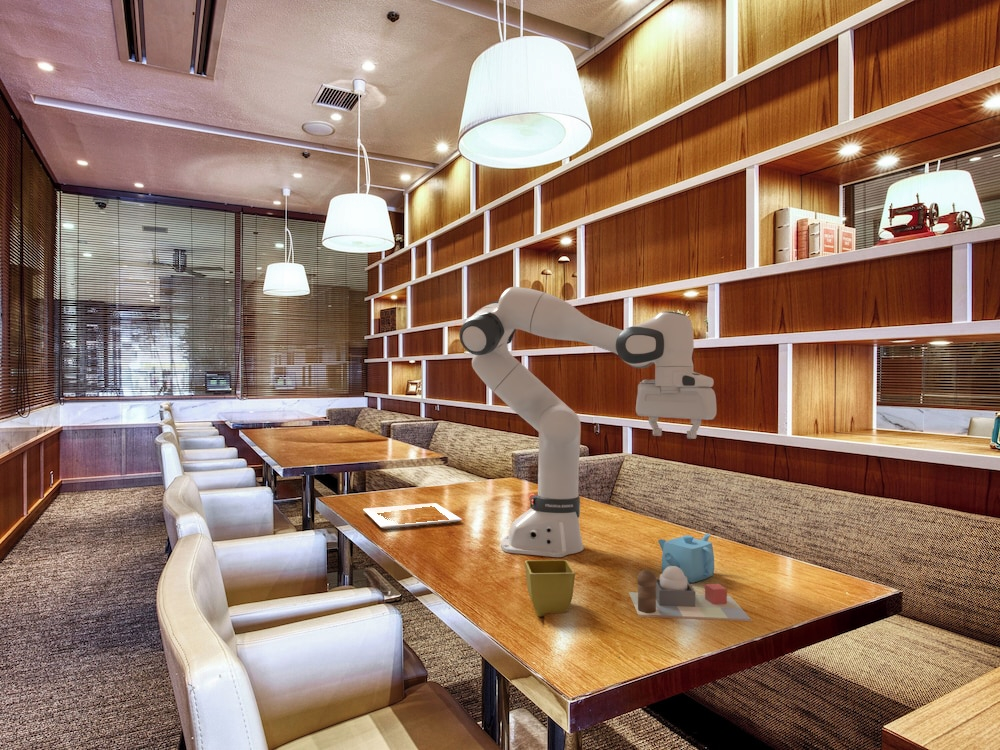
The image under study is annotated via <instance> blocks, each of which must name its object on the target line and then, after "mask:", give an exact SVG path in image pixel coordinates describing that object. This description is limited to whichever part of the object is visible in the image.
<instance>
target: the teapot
mask: <svg viewBox="0 0 1000 750" xmlns="http://www.w3.org/2000/svg"><path fill="white" fill-rule="evenodd" d="M710 537H711V533H706V534H704V535H703V536H702V539H699V538H698V539H697V538H694V536H693V535H689V534H687V535H686V534H685V535H683V536H680V537H676V538H672V539H669V540H666V539H665V538H663V539H657V541H658V544H659V546H660V549H661V551H662V554H661V555H662V556H661V571H662V572H661V574H663V571H664V570H665V569H666V568H667V567H669V566H676V567H679V568H680V569H681V570H682V571H683V573H684V576H686V577H687V581H688V582H689V584H693V583H697V582H701V581H704V580H706V579H708V578H710V577H713V575H714V573H715V554H714V547H713V543H712V542H710V541H709V539H710Z"/></svg>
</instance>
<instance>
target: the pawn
mask: <svg viewBox="0 0 1000 750" xmlns="http://www.w3.org/2000/svg"><path fill="white" fill-rule="evenodd" d="M657 579H658V578H657V576H656V573H655V572H653V571H652V570H650V569H642V570H641V571H639V572H638V574H637V577H636V582H637V592H638V610H639V611H641V612H644V613H654V612H656V584H657Z"/></svg>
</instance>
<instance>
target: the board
mask: <svg viewBox="0 0 1000 750" xmlns="http://www.w3.org/2000/svg"><path fill="white" fill-rule="evenodd" d="M628 595H629V596H630V599H631V601H632V604H633V605H634V608H635V611H636V613H637V616H638V617H639V618H656V619H657V618H659V619H660V618H662V619H663V618H664V619H683V620H684V619H685V620H687V619H688V620H708V621H727V622H729V621H732V622H754V621H753V619H752V618H751V617H749V615H748V614H747V613H746V612H745V611H744V609H743V608H742V606H740V605H739V604H738V603H737V602H736V600H735V599H734V598H733V597H732V596H731V595H727V604H714V605H713V604H712V603H710V602H709V601H707V600H706V599H705V594H697V593H696V590H695V589H694V588H693V586H692V585H691V583H690V582H688V581H687V591H686V590H662V589H661V588H660V578H657V584H656V612H654V613H644V612H641V611H639V610H638V591H628Z"/></svg>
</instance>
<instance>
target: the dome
mask: <svg viewBox="0 0 1000 750" xmlns="http://www.w3.org/2000/svg"><path fill="white" fill-rule="evenodd" d="M659 579H660V588H661V589H662V590H686V591H687V577H686V576H684V573H683V571H682V570H681V569H680V568H679V567H676V566H669V567H667V568H666V569H665V570H664V571H663V573H661V574H659Z"/></svg>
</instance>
